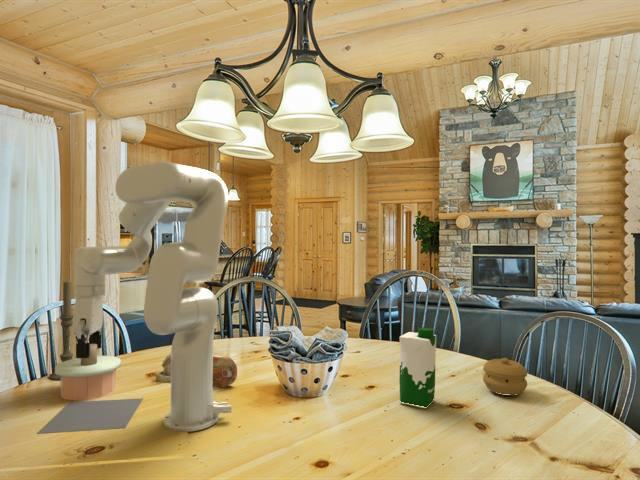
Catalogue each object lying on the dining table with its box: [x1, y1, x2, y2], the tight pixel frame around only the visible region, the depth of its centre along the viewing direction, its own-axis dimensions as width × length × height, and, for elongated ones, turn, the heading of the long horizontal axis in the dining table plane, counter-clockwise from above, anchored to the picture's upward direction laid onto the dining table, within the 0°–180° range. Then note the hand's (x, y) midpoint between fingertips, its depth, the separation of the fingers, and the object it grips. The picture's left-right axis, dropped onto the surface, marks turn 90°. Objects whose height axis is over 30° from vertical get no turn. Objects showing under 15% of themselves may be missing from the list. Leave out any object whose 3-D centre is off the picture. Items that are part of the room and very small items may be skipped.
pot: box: [482, 357, 528, 395], centre depth 123 cm, size 12×12×10 cm
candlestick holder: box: [48, 279, 74, 381], centre depth 133 cm, size 9×9×30 cm
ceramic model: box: [155, 352, 171, 383], centre depth 133 cm, size 14×11×10 cm
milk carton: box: [399, 326, 437, 407], centre depth 115 cm, size 9×9×20 cm
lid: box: [54, 344, 122, 377], centre depth 118 cm, size 16×16×6 cm
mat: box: [36, 397, 144, 435], centre depth 103 cm, size 18×18×1 cm
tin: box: [213, 354, 238, 388], centre depth 127 cm, size 15×3×8 cm, turn 62°
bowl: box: [60, 369, 117, 401], centre depth 118 cm, size 13×13×7 cm
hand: (89, 353), depth 118 cm, fingers open, 9 cm apart
